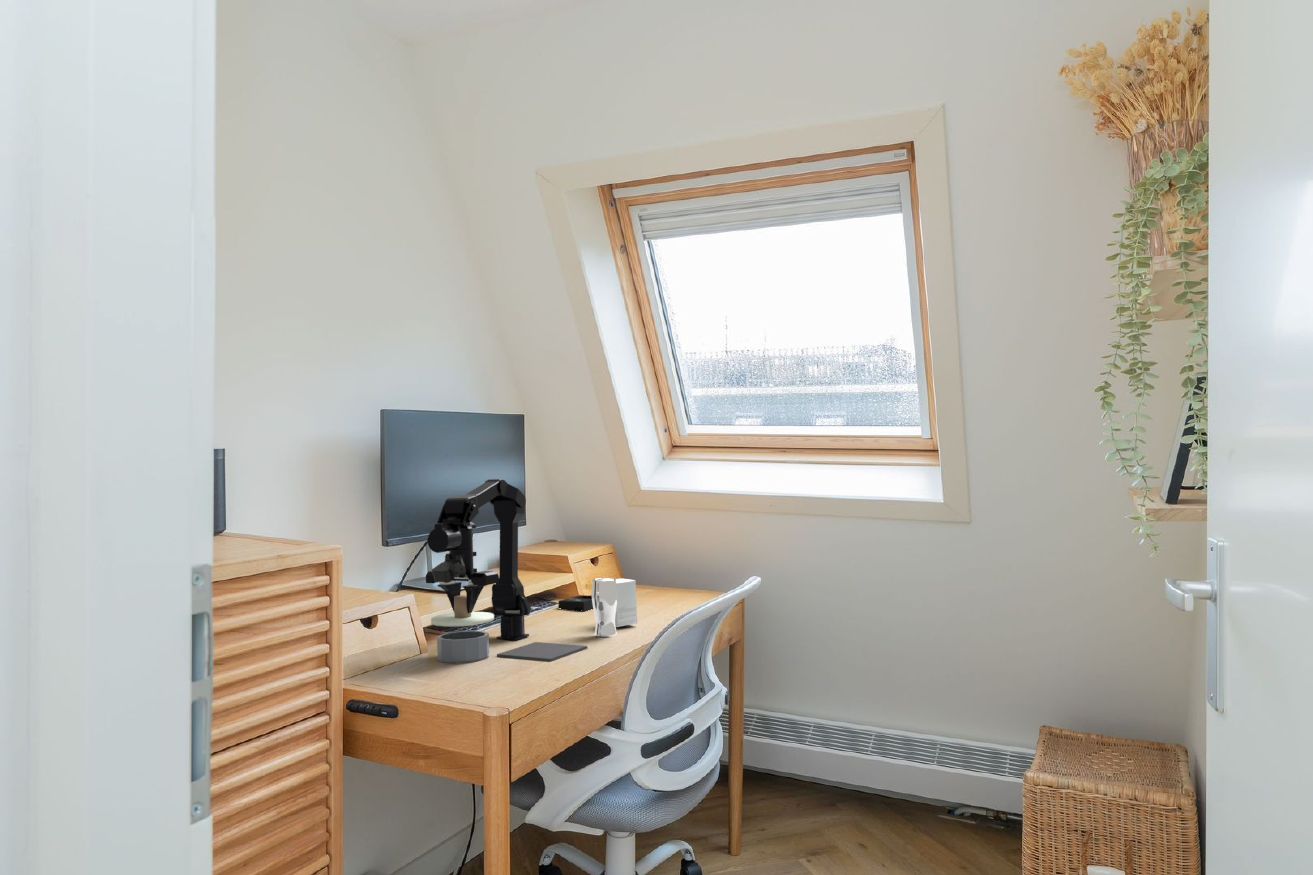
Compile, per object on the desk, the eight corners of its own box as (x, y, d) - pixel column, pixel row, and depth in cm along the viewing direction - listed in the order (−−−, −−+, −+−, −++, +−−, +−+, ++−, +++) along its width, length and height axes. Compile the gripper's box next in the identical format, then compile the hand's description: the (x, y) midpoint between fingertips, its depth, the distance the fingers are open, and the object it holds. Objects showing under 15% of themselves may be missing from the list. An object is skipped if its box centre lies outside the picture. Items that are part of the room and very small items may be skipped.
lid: (459, 614, 232) (458, 590, 232) (506, 617, 225) (505, 593, 225) (418, 624, 219) (417, 599, 219) (466, 627, 212) (466, 602, 212)
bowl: (460, 651, 229) (460, 629, 230) (498, 654, 224) (498, 632, 224) (427, 661, 219) (427, 638, 219) (466, 664, 213) (466, 641, 213)
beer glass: (595, 638, 241) (594, 581, 242) (590, 633, 248) (588, 578, 248) (621, 636, 243) (619, 579, 244) (615, 631, 250) (613, 577, 250)
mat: (535, 644, 236) (535, 641, 236) (587, 648, 228) (587, 645, 228) (496, 656, 222) (496, 654, 222) (551, 661, 214) (550, 658, 214)
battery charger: (584, 614, 283) (583, 601, 283) (558, 613, 288) (558, 600, 288) (605, 608, 295) (604, 595, 295) (580, 607, 299) (579, 595, 299)
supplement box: (623, 621, 267) (621, 577, 268) (637, 623, 261) (636, 579, 262) (602, 624, 263) (600, 580, 263) (616, 627, 257) (615, 582, 257)
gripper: (408, 551, 220) (410, 616, 219) (469, 552, 211) (471, 620, 210) (440, 546, 229) (442, 608, 229) (499, 547, 221) (501, 612, 220)
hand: (462, 612), depth 222 cm, fingers closed on lid, 4 cm apart
